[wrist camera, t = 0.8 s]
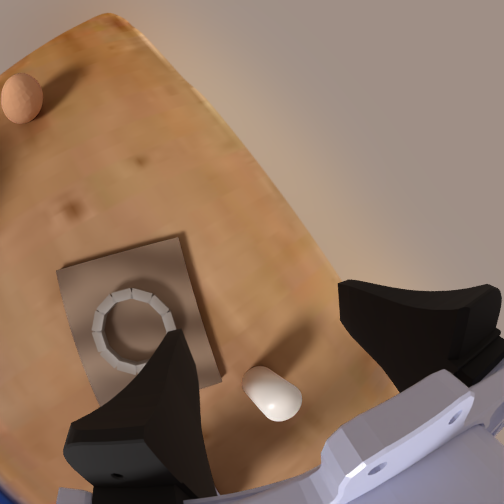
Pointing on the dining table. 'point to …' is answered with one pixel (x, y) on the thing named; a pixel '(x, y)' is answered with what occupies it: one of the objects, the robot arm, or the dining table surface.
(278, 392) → the white rounded capsule
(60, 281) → the socket board
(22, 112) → the egg
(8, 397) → the dining table surface
